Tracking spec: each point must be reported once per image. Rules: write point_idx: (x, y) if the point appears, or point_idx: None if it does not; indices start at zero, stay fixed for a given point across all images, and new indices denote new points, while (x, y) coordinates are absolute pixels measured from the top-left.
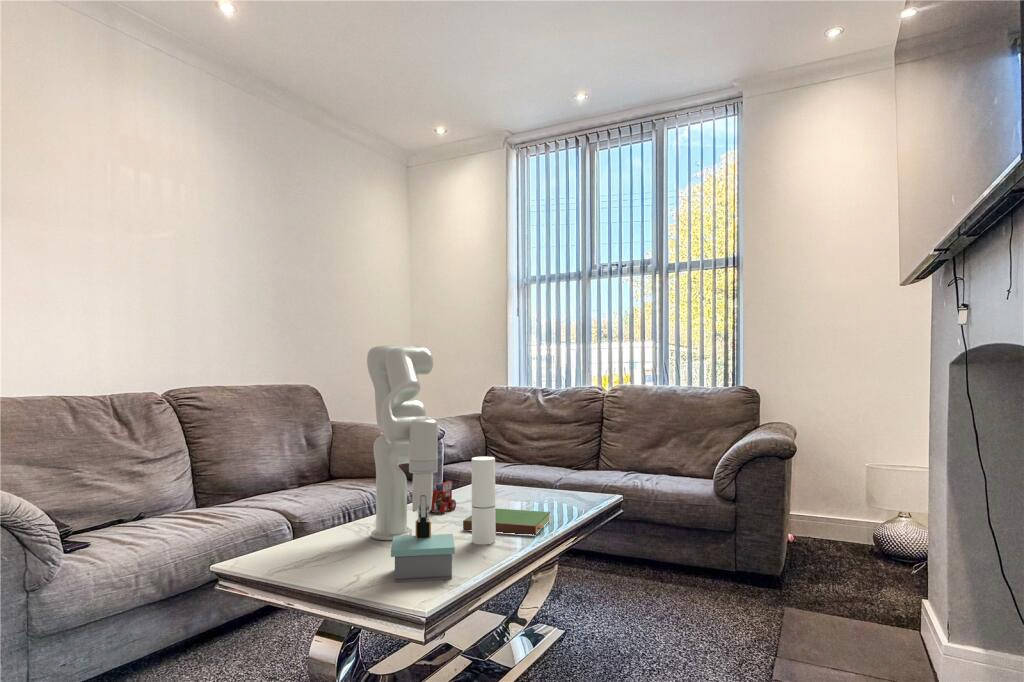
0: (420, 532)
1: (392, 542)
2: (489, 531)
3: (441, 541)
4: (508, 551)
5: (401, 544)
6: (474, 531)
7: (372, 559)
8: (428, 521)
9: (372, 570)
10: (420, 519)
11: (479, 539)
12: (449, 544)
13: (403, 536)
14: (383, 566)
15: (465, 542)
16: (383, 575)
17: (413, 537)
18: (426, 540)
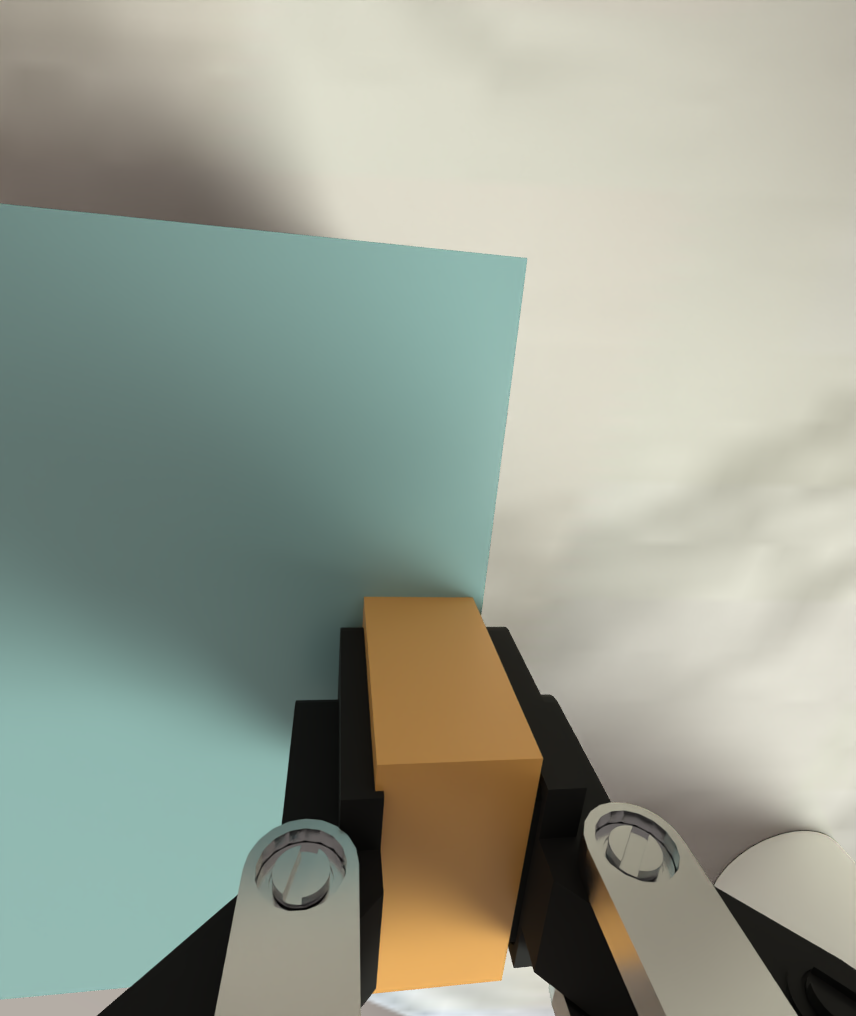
0: (295, 721)
1: (165, 223)
2: None
3: (152, 881)
4: (548, 994)
5: (25, 385)
6: (819, 924)
7: (742, 63)
8: (404, 959)
9: (406, 43)
10: (131, 991)
11: (748, 901)
12: (16, 958)
13: (486, 427)
14: (497, 176)
15: (814, 797)
16: (229, 162)
17: (398, 569)
18: (215, 730)
